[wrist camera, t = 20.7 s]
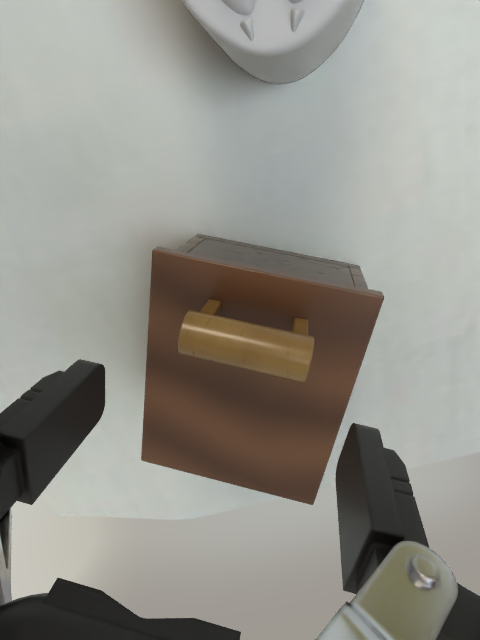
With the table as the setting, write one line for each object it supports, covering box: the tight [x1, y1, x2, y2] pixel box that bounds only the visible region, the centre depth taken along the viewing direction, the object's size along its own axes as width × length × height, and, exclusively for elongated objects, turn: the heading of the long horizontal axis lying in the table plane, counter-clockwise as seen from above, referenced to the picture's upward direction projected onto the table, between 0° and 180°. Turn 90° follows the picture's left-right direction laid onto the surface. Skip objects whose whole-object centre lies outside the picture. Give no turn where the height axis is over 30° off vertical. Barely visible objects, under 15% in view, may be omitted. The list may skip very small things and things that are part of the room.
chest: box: [177, 234, 368, 289], centre depth 26 cm, size 14×12×8 cm
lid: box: [141, 247, 384, 505], centre depth 20 cm, size 14×12×5 cm
